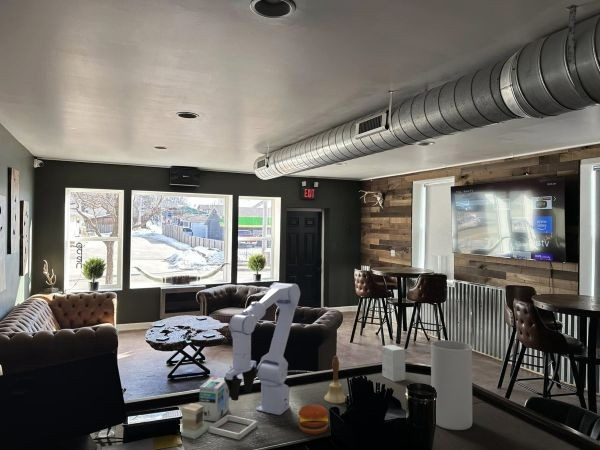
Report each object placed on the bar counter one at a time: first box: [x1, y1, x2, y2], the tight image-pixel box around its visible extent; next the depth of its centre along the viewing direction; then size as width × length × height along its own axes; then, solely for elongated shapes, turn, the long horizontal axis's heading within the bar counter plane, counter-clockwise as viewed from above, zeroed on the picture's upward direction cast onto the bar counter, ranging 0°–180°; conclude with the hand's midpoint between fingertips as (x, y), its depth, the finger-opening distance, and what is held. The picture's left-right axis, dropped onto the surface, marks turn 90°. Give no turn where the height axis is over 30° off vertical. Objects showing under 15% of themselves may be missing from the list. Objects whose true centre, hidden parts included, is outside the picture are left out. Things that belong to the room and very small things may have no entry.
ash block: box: [181, 402, 205, 431], centre depth 132 cm, size 4×5×6 cm
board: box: [179, 420, 214, 440], centre depth 132 cm, size 9×9×1 cm
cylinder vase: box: [430, 339, 473, 431], centre depth 138 cm, size 12×12×25 cm
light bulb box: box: [198, 376, 230, 422], centre depth 143 cm, size 11×7×11 cm, turn 168°
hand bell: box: [324, 355, 347, 404], centre depth 157 cm, size 8×8×16 cm
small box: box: [381, 344, 406, 383], centre depth 181 cm, size 8×6×13 cm
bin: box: [207, 414, 258, 440], centre depth 132 cm, size 11×10×2 cm
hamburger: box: [298, 404, 329, 435], centre depth 134 cm, size 9×10×7 cm
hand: (241, 395), depth 135 cm, fingers open, 7 cm apart
